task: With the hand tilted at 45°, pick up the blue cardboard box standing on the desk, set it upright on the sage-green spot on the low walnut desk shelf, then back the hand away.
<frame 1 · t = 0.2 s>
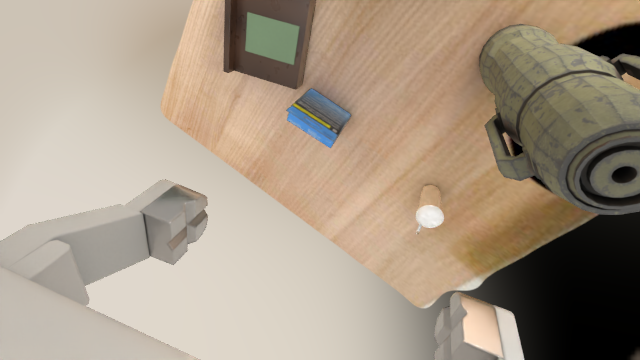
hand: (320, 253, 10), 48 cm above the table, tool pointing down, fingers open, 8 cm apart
milkshake: (429, 192, 62), on the table
blue cardboard box: (327, 108, 59), on the table
thermos: (511, 57, 47), on the table
desk shelf: (274, 22, 54), on the table
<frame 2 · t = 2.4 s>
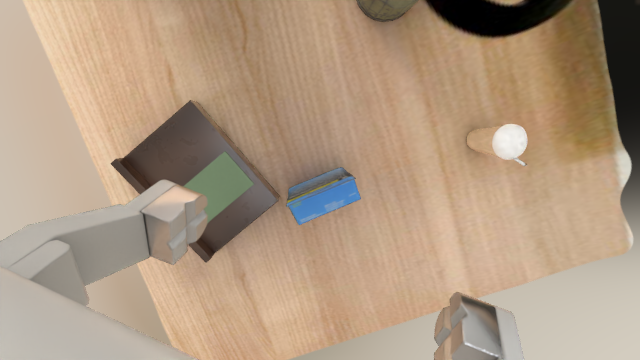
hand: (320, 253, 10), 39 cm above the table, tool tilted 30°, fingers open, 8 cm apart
milkshake: (476, 142, 50), on the table
blue cardboard box: (320, 187, 49), on the table
desk shelf: (206, 178, 48), on the table
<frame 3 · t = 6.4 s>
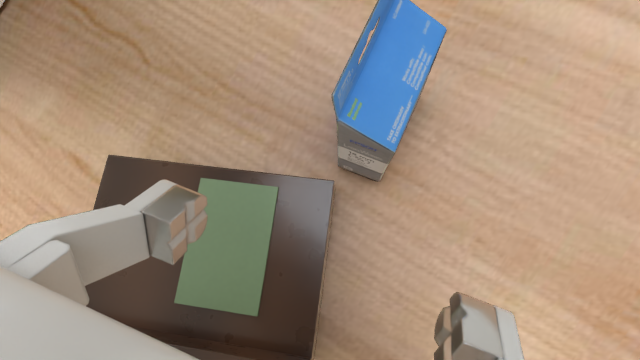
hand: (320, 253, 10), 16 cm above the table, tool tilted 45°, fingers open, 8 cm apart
blue cardboard box: (378, 129, 27), on the table
desk shelf: (215, 253, 26), on the table
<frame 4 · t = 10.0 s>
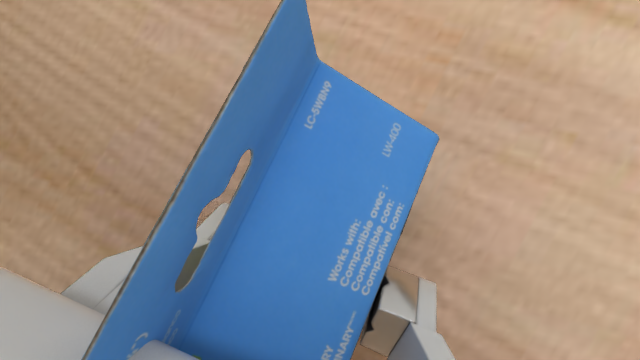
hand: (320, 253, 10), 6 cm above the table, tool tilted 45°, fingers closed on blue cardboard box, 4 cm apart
blue cardboard box: (329, 254, 16), on the table, touching gripper
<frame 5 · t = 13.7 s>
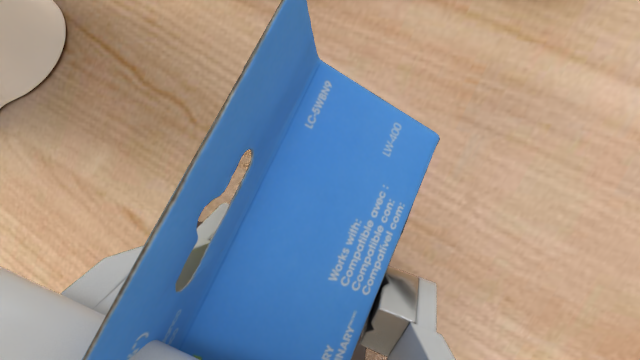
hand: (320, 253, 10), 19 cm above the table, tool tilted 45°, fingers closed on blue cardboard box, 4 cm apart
blue cardboard box: (329, 254, 16), point 13 cm above the table, touching gripper
when the fingers open (9 cm above the table, at t = 17.5 s): blue cardboard box stays where it is, resting on desk shelf.
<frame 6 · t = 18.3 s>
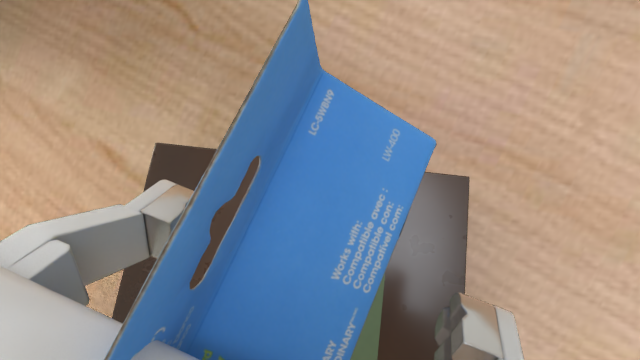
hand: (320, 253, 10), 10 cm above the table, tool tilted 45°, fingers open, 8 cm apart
blue cardboard box: (330, 254, 17), point 3 cm above the table, touching desk shelf
desk shelf: (295, 273, 20), on the table
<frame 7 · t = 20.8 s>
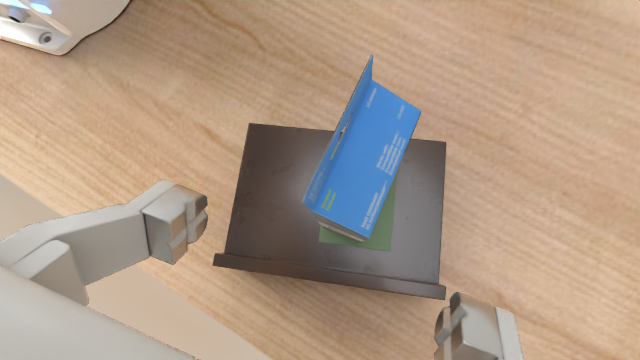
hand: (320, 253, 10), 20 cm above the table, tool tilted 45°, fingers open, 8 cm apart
blue cardboard box: (361, 188, 28), point 3 cm above the table, touching desk shelf
desk shelf: (336, 207, 31), on the table
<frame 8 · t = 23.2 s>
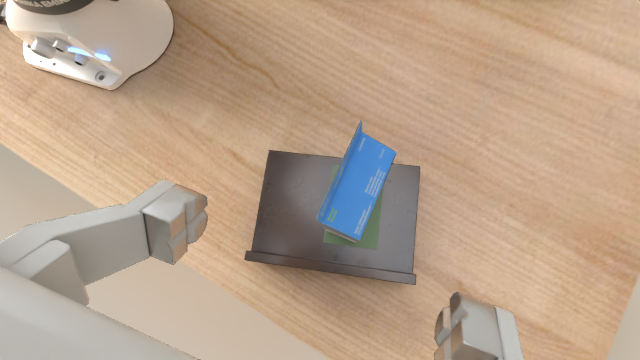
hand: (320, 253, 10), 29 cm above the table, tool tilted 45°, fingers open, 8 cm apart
blue cardboard box: (355, 202, 37), point 3 cm above the table, touching desk shelf
desk shelf: (336, 215, 40), on the table
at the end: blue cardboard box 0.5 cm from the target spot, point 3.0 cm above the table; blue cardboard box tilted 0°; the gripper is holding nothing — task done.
